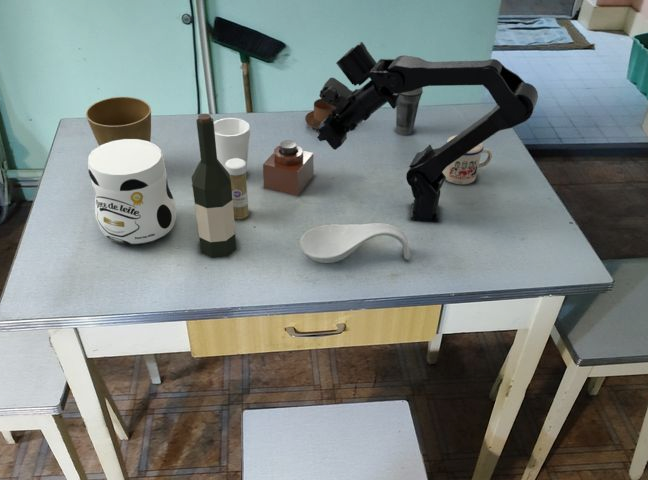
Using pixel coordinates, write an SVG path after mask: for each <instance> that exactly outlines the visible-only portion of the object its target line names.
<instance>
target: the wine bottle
mask: <svg viewBox="0 0 648 480" xmlns="http://www.w3.org/2000/svg"><path fill="white" fill-rule="evenodd" d="M195 120H196V130H197V137H198V138H197V139H198V146H199V155H200V161H199V163H198V164H197V166H196V167H195V170H194V171H193V173H192V175H191V187H192V192H193V193H192V194H193V200H194V208H195V216H196V217H195V218H196V223H197V232H198V239H199V246H200V247H199V248H200V254H203V255H205V256H207V257H209V258H212V259H218V258H227V257H229V256H230V255H232V254H233V253H234V252H235V251H237V249H238V248H237V247H238V246H237V238H236V237H237V236H236V225H235V219H234V211H233V200H232V188H231V179H230V174H229V173H228V171H227V170H226V169H225V168H224V167H223V165H222V164H221V163H220V162H219V160H218V159H217V152H216V142H215V132H214V122H215V121H214V118H212V116H211V114H210V113H209V114H208V113H200V114H199V115H197V119H195Z"/></svg>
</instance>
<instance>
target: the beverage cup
mask: <svg viewBox="0 0 648 480" xmlns="http://www.w3.org/2000/svg"><path fill="white" fill-rule="evenodd" d="M423 93H424V91H423V87H422V88H419V89H416V90H414V91H410V92H405V93H401V94H400V102H399V104H398V105H397V106H396V112H395V113H396V114H395V115H396V118H395V119H396V120H395V128H396V133H397V134H399V135H402V136H408V135H411V134H412V133H413V131H414V127H415V122H416V117H417V113H418V109H419V104H420V101H421V98H422V94H423Z"/></svg>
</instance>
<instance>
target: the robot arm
mask: <svg viewBox="0 0 648 480" xmlns="http://www.w3.org/2000/svg"><path fill="white" fill-rule="evenodd" d="M335 64H336V65H337V67H338V68H339V69H340V71H341V72H342V73H343V74H344V76H345V77H346V79H348V81H349V82H350V83H351V85H352V86H354V87H356V86H357V85H358V86H361V85H363V84H364V83H365V82H366V84H364V85H363V86H362V87H360V88H356V89H354V90H351V89H350V88H349V87H348V86H346V85H345V84H344V83H343V82H341V81H339V80H338V79H336V78H335V77H329V78H328V79H327V80H326V82H325V83H324V85H323V86H322V88H321V89H320V91H319V95H318V96H319V99H322V100H323V101H325V102H326V103H327V104H329V105H333V106H335V108H334V109H333V110H332V115H331V114H330V113H329V115H328V116H327V117H326V118H325V119H324V120H323V121H322V122H321V123H320V125H319V126H318V127H317V129H318V130H317V129H316V130H317V132H318V133H319V134H318V136H316V138H317V139H318V141H319V142H323V141H326V143H328V145H329V146H330V147H331V149H332V150H337V149H339V148H340V147H341V146H343V145H344V144H345V141H346V140H347V139H348V138H347V137H348V133H349V132H350V131H351V132H352V131H354V130H355V129H356V128H357V127H358V126H359V124H361V123H362V122H363V121H364V122H365V121H367V120H368V119H369V118H370V117H371V116H372V115H373V114H374V113H375V112H377V111H378V110H379V109H380V108H382V107H383V106H384V105H386V104H387V103H388V105H389V106H390V107H391V108H392V109H393V110H395V109H397V105H398V104H399V102H400V94H401V93H405V92H410V91H414V90H416V89H419V88H422V89H423V88H426V87H438V86H439V87H441V86H442V87H444V86H445V87H446V86H447V87H448V86H452V87H453V86H454V87H455V86H483V87H484V88H485V89H486V90H487V91H488V93H489V95H490V96H491V98H492V99H493V100H494V102H495V103H496V104H495V106H494V107H493V108H492V110H490V111H489V112H487V113H486V114H484V115H483V116H482V117H481V118H479V119H477V120H476V121H475V122H474V123H472V124H471V125H469V126H468V127H467V128H466V129H464V130H463V131H461V132H460V133H459V134H456V135H457V136H456V137H454V138H453V139H452V140H450V141H449V142H447V141H446V142H445V143H444V144H443V145H442V146H440V147H438V148H437V147H436V148H433V146H432V145H431V144H428V145H427V146H426V148H425V149H423V150H422V151H419V152H418V151H417V153H416V154H415V156H414V158H413V159H412V161H411V163H410V164H409V168H408V170H407V171H406V177H405V178H406V182H407V184H408V185H409V186H410V189H411V193H412V197H413V198H414V199H413V203H411V204H410V220H412V221H419V222H420V221H421V222H432V223H438V222H439V221H440V205H439V204H440V197H441V193H442V192H441V191H442V190H441V188H442V187H443V185H444V183H445V181H446V176H445V175H444V174H443V170H444V169H445V168H446V167H447V166H448V165H450V164H451V163H453V162H454V161H456V160H457V159H459V158H460V157H462V156H463V155H464V154H466V153H467V152H469V151H470V150H472V149H473V148H475V147H476V146H478V145H479V144H480V143H483V142H485V141H487V140H488V139H489V138H491V137H492V136H493V135H495V134H496V133H499V132H500V131H504V130H509V129H512V128H515V127H517V126H518V125H520V124H523V123H525V122H527V121H528V120H529V119H530V118H531V117H532V115H533V113H534V110H535V108H536V105H537V103H538V100H539V99H538V98H539V95H538V94H539V93H538V90H537V89H536V87H535V86H534V85H533V84H531V83H529V82H525V81H524V80H523V79H522V78H521V77H520V76H519V75H518V74H517V73H515V72H514V71H512V70H510V69H509V68H507V67H506V66H505V65H504V64H503V63H502V62H501V61H500V60H498V59H495V58H490V59H487V60H486V59H485V60H455V61H453V60H452V61H430V60H425V59H424V58H420V57H417V56H411V55H404V54H403V55H399V56H397V57H396V58H379V60H378V61H376V60H375V58H373V56H372V55H371V53H370V52H369V51H368V49H367V47H366V45H365V43H364V42H363V41H360V42H359V43H358V44H356V45H355V46H353V47H351V48H350V49H349V50H348V51H347V52H346V53H345V54H343V55H342V57H340V58H339V59H338V60H337V61H336V63H335ZM369 79H370V80H369ZM367 80H369V81H368V82H367Z"/></svg>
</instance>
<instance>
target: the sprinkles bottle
mask: <svg viewBox="0 0 648 480" xmlns="http://www.w3.org/2000/svg"><path fill="white" fill-rule="evenodd" d="M225 168H226V170H227V171H228V173H229V174H230V179H231V188H232V200H233V211H234V220H244V219H247V218H248V217H249V215H250V211H249V197H248V196H249V195H248V183H247V172H246V162H245V161H244V160H242V159H238V158H234V159H230V160H228V161H227V162H226V163H225Z"/></svg>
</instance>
